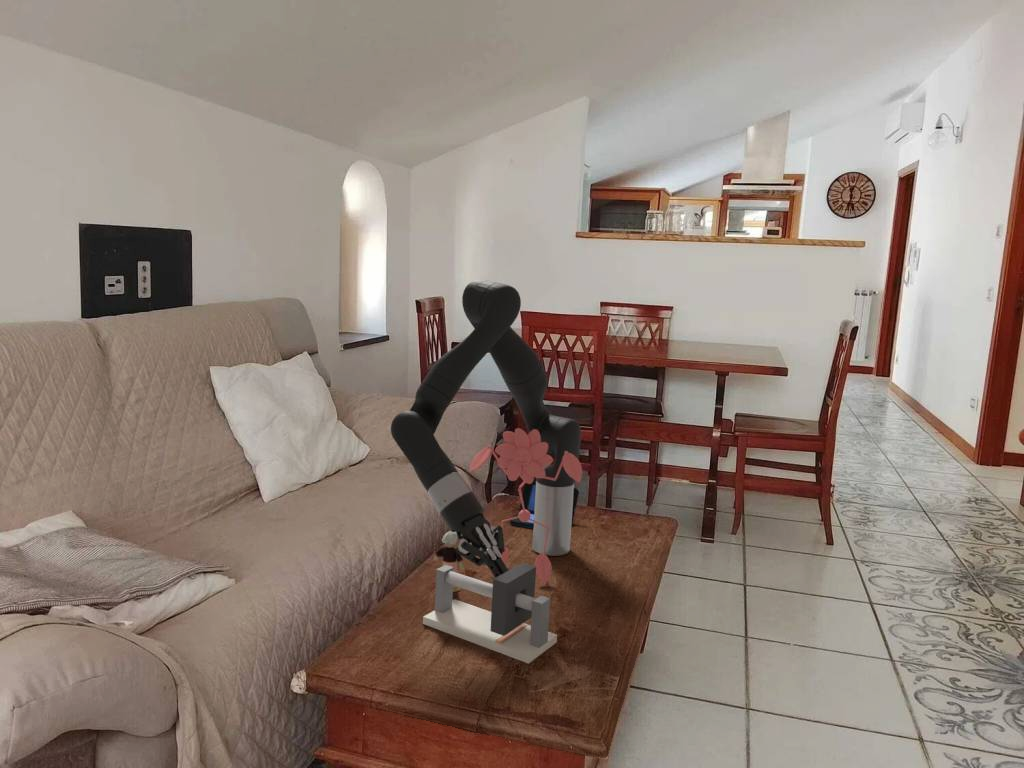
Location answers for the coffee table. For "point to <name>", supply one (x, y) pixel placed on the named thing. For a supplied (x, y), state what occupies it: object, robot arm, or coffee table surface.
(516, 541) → the coffee table surface
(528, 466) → the flower
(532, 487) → the handheld game console
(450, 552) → the grandmother figurine
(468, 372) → the robot arm
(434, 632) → the coffee table surface
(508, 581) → the grey plate with hole
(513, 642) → the pipe stand
